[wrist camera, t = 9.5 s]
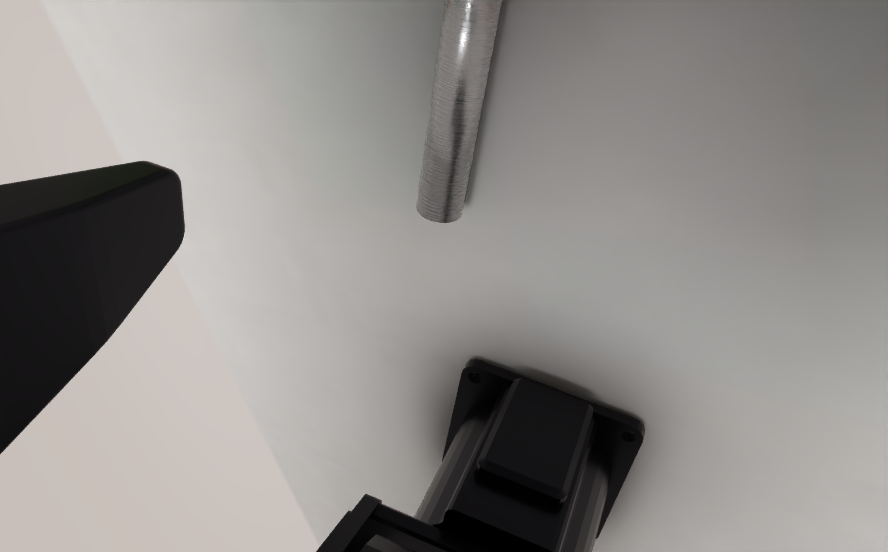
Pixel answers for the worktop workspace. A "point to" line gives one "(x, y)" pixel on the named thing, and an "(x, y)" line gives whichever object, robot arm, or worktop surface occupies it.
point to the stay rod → (456, 106)
